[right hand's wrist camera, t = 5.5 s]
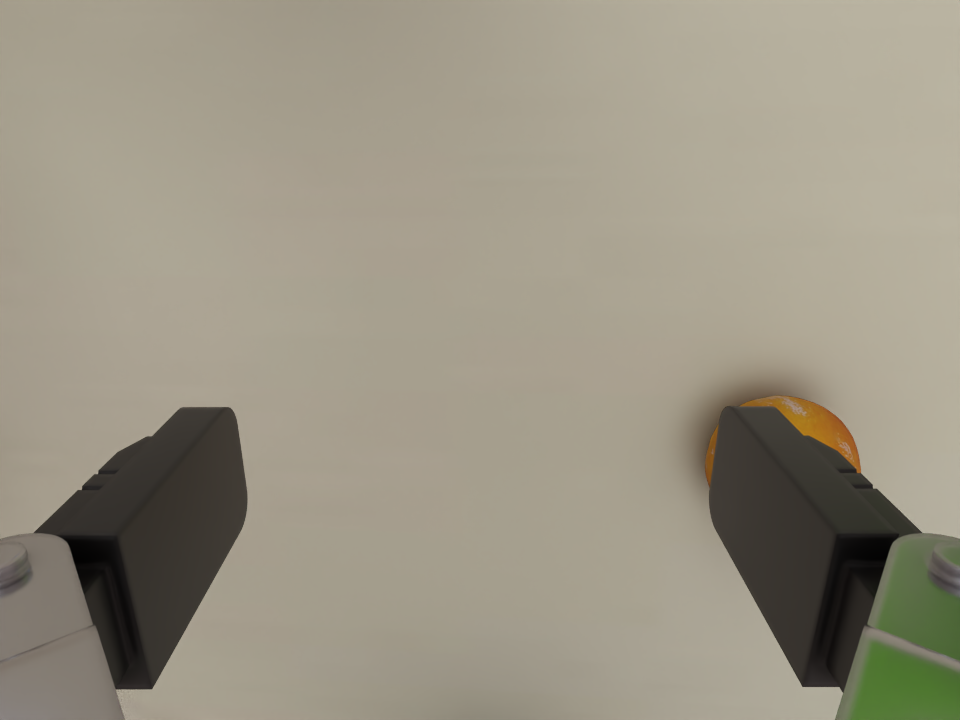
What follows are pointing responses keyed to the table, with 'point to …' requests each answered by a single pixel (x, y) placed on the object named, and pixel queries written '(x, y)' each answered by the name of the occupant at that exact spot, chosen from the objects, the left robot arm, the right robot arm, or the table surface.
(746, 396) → the table surface
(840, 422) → the fruit
